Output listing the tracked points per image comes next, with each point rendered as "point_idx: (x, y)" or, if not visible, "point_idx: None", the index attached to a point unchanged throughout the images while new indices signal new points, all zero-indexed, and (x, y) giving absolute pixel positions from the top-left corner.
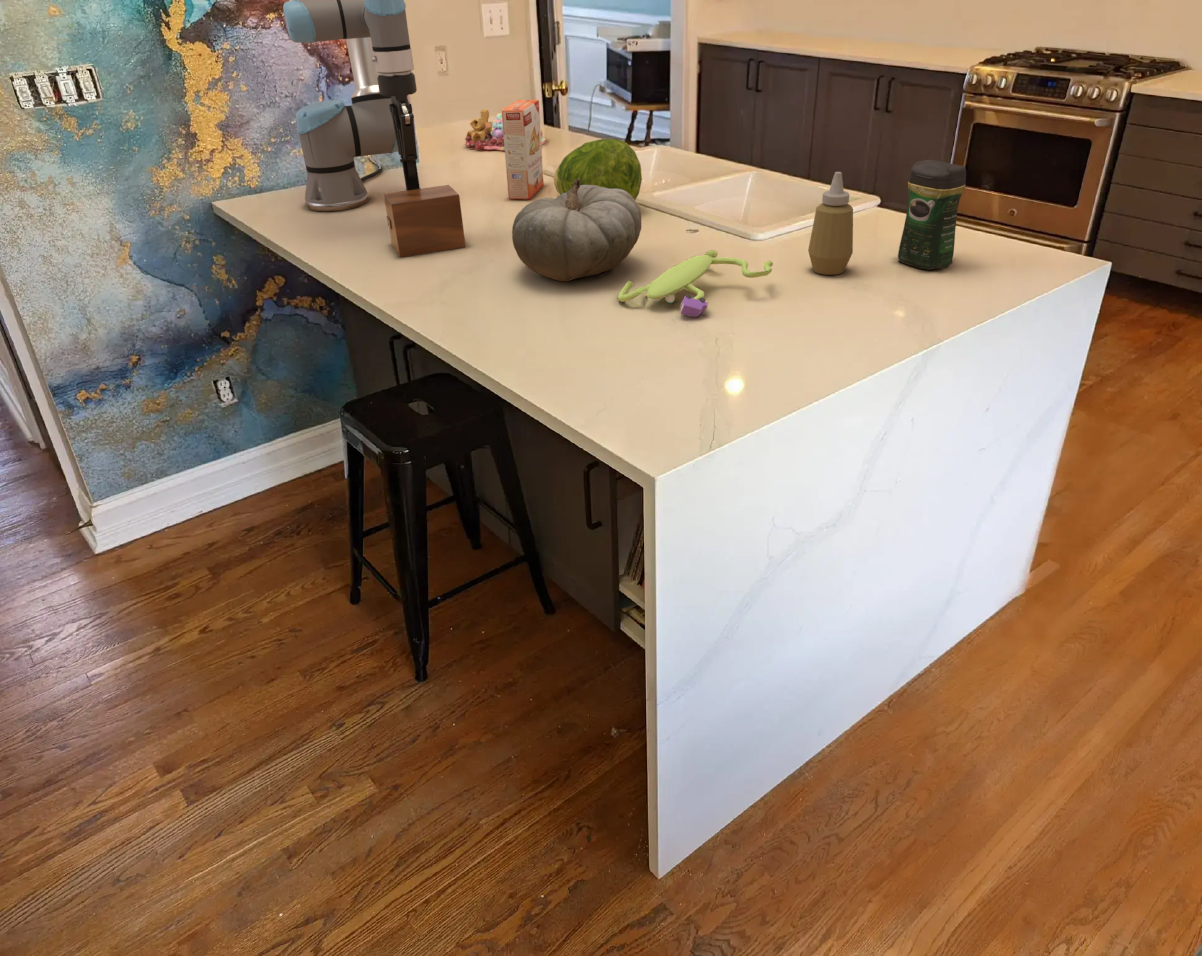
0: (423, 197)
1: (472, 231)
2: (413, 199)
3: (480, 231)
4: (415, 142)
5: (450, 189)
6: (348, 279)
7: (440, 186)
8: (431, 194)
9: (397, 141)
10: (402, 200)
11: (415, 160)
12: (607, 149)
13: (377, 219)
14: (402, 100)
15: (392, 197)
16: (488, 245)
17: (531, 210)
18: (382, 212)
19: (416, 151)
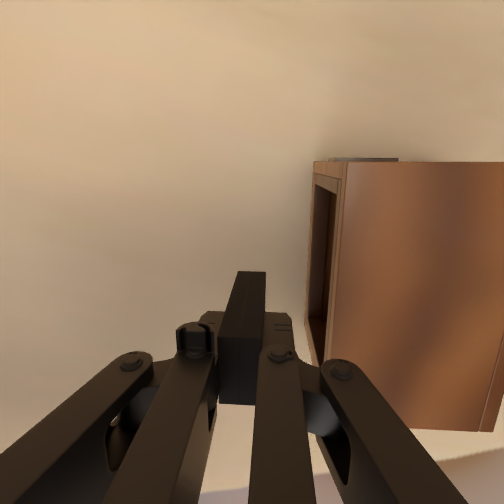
0: (491, 316)
1: (299, 102)
2: (491, 356)
3: (313, 77)
4: (444, 477)
5: (444, 177)
6: (476, 438)
7: (354, 206)
8: (466, 276)
9: (101, 498)
10: (473, 392)
11: (290, 350)
12: None
13: (68, 310)
14: None
15: (401, 410)
16: (462, 93)
17: None
18: (8, 288)
19: (388, 403)
